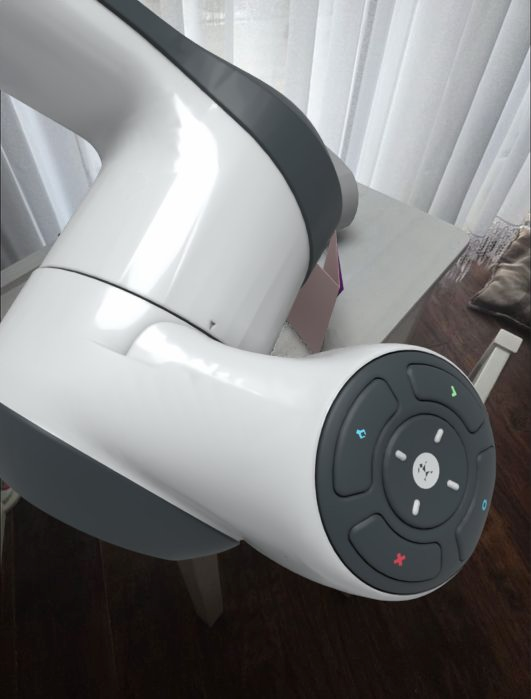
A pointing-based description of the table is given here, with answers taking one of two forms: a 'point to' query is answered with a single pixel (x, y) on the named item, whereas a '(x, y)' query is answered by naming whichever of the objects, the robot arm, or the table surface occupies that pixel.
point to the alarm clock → (346, 191)
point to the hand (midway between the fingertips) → (217, 451)
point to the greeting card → (317, 300)
